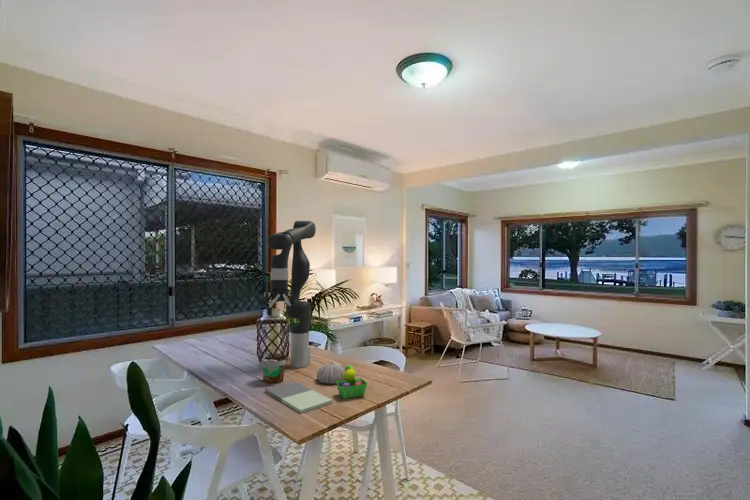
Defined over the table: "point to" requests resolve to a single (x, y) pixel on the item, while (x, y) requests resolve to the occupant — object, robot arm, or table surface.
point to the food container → (273, 370)
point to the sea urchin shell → (330, 373)
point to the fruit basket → (351, 384)
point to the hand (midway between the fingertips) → (278, 315)
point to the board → (298, 396)
